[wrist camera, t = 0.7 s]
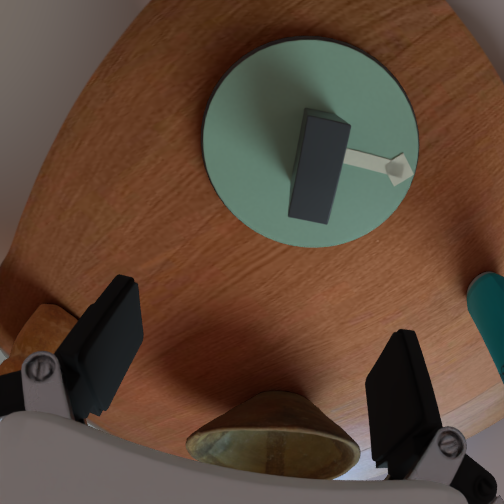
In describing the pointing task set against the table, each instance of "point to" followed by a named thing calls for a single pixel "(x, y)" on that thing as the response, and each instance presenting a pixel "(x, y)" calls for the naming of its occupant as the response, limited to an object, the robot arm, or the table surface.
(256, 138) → the turntable tray
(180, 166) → the table surface
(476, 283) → the beverage can
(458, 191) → the table surface
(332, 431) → the bowl
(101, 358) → the robot arm
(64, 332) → the bread
